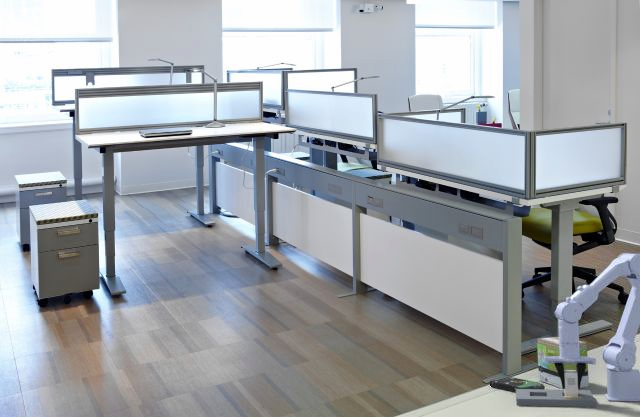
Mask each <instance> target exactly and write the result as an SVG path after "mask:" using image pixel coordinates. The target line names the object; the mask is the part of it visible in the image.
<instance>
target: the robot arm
mask: <svg viewBox="0 0 640 417" xmlns="http://www.w3.org/2000/svg"><path fill="white" fill-rule="evenodd" d="M620 277H626V279H628V280H627V281H628V282H629V283H630V285H631V290H630V292H629V295H628V298H627V300H626V304H625V306H624V310H623V313H622V316H621V318H620V321H619V324H618V328H617V331H616V332H615V335H613V337H611V338H610V339H609V342H608V344H607V345H606V346H605V347H604V348H603V350H602V353H601V357H602V360H603V362H604V363H605V364H606V388H607V390H606V391H607V393H605V394H604V396H605V397H606V399H607V401H609V402H640V369H635V368H634V367H635V365H636V363H637V362H636V361H637V357H636V353H637V349H638V348H637V346H636V343H635V339H636V336H637V333H638V330H639V328H640V253H628V252H622V253H621V254H619V255H618V256H617V258H615V259H613V260H612V261H611V263H610V264H608V266H607V267H606V268H605V269H604V270H603V271H602V272H600V274H599V275H598V276H597V277H596V278H595V279H594V280H593V281H592V282H591V283H590V284H583V285H579V286H578V287H576V291H575V292H574V293H573V294H572V295H571V296H569V297H568V296H567V297H566V298H565V301H563V302H560V303H559V304H558V305H557V306H556V309H555V311H554V316H555V317H556V319H557V320H558V337H559V349H560V356H553V357H545V364H554V365H555V367H556V369H557V371H558V374H559V376H560V379H561V383H562V388H563V389H562V390H564V389H565V381H564V366H563V364H576V368H577V377H578V390H581V388H580V384H581V380H582V376H583V374H584V372H585V369H586V364H588V365H596V363H597V357H595V356H588V357H582V356H580V350H579V341H580V336H579V335H580V331H579V320H581V318H582V316H583V313H584V312H585V311H586V310H588V309H589V307H591V306H592V304H594V303H595V302H596V301H597V300H598V299H599V293H600V292H602V291H603V290H604V289H605V288H606V287H607V286H609V285H610V284H612V283H613V282H614V281H615V280H616V279H617V278H620ZM564 361H565V362H564Z"/></svg>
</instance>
